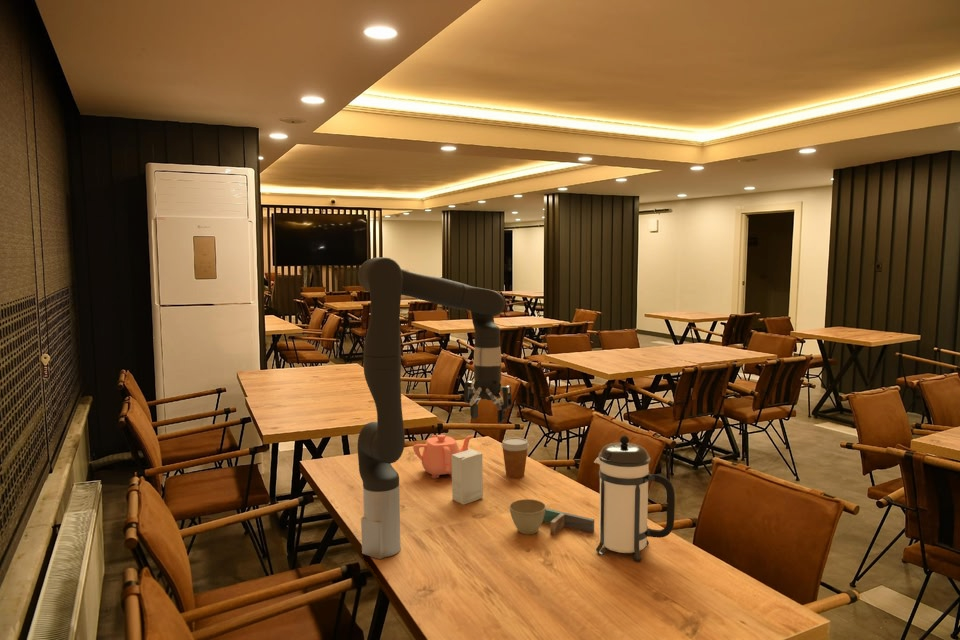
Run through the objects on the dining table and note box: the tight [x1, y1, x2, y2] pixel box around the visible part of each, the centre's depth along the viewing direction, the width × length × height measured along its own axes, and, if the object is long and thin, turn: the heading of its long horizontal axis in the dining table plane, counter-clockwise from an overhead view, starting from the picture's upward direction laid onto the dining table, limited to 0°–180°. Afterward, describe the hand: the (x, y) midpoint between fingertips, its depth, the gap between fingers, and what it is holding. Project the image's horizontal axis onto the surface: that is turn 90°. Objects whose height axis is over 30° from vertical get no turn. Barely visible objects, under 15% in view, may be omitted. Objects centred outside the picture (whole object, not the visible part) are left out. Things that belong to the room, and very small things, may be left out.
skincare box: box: [451, 448, 484, 505], centre depth 198 cm, size 8×6×15 cm
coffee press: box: [593, 435, 676, 562], centre depth 162 cm, size 17×16×30 cm
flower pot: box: [508, 498, 547, 535], centre depth 175 cm, size 10×10×7 cm
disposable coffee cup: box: [501, 437, 530, 479], centre depth 219 cm, size 10×10×12 cm
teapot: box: [412, 434, 475, 479], centre depth 222 cm, size 16×17×14 cm
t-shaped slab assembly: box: [542, 507, 595, 536], centre depth 176 cm, size 8×18×4 cm, turn 58°
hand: (487, 420), depth 176 cm, fingers open, 8 cm apart
